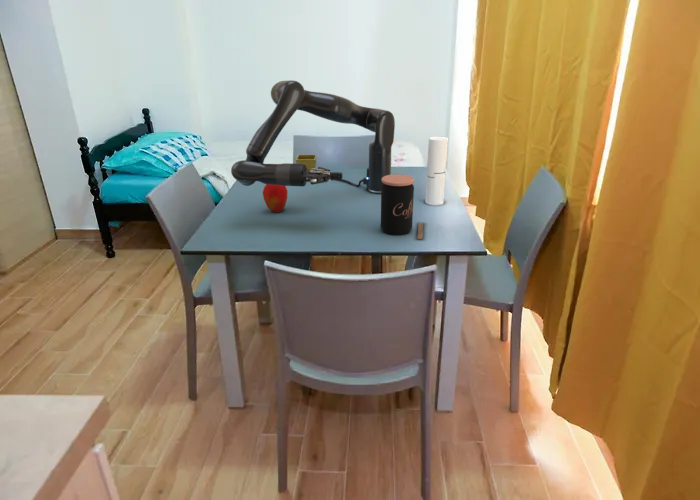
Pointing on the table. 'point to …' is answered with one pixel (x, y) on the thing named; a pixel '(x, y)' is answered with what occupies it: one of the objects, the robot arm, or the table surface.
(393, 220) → the coffee jar
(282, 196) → the apple
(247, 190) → the table surface
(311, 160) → the flower pot
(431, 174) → the cylindrical container
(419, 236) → the strip
